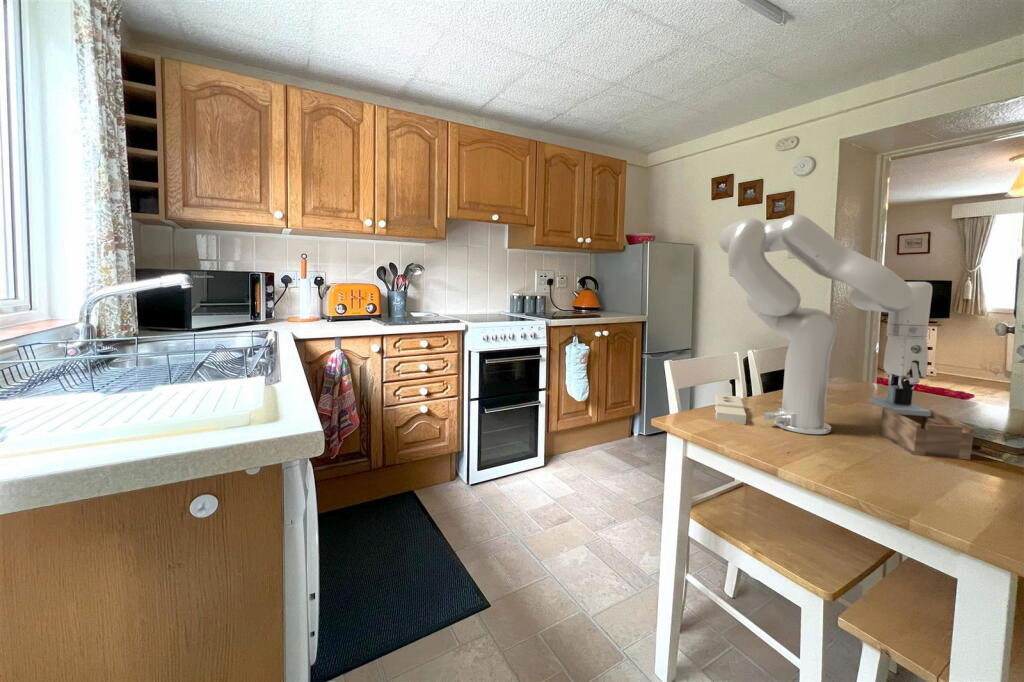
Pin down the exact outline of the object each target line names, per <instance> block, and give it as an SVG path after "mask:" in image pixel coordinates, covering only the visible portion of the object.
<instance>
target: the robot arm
mask: <svg viewBox="0 0 1024 682" xmlns="http://www.w3.org/2000/svg"><path fill="white" fill-rule="evenodd" d="M718 245H719V246H720V248H721V250H722V251H723V253H726V254H727V257H728V259H727V260H728V261H727V262H728V267H729V272H730V274H731V276H732V277H733V279H734V280H735V281H736V282H737V283H738V285H740V286H741V288H742V289H743V290H744V291H745V292H746V303H747V305H748V307H749V308H750V309H751V312H752V313H753V314H755V315H756V317H758V318H759V320H761V321H762V322H763V323H764V324H765V325H766V326H767V327H768V328H769V329H771V330H772V332H774V333H775V334H776V335H777V336H779V337H780V338H782V339H784V340H786V341H789V345H788V348H787V352H786V354H785V360H784V373H783V375H784V376H783V387H782V403H781V407H777V410H776V411H775V412H770V411H769V412H764V413H763V418H764V419H765V420H767V421H769V420H774V421H773V423H774V424H775V425H776V427H778V428H781V429H784V430H785V431H786V430H787V431H790V432H793V433H799V434H807V435H825V434H829V433H831V431H832V426H831V425H830V424H829V423H827V422H825V420H826V418H825V417H826V408H827V407H826V406H827V395H828V394H827V393H828V386H829V385H828V384H829V383H828V382H829V373H830V372H829V369H830V362H831V361H830V360H831V353H832V348H833V346H834V343H835V339H836V335H837V323H836V321H835V319H834V318H833V316H831V314H829V313H827V312H826V311H824V310H822V309H818V308H810V307H802V306H800V305H801V300H802V297H801V294H800V291H799V290H798V289H797V287H795V286H794V285H793V283H791V282H790V281H789V280H787V278H785V276H784V275H782V274H781V273H780V272H779V271H778V270H777V269H776V268H775V267H774V266H773V265H772V264H771V263H770V262H769V260H768V259H767V257H766V254H765V253H772V252H779V251H786V252H788V253H789V254H790V255H792V256H793V257H795V258H796V259H797V260H798V261H800V262H801V263H802V264H803V265H805V266H806V267H807V268H809V270H811V271H812V272H814V274H816V275H818V276H821V277H823V278H827V279H830V280H833V281H838V282H841V283H844V284H846V285H848V286H850V287H852V289H851V291H849V292H850V293H849V301H850V303H851V305H853V307H855V308H857V309H859V310H862V311H867V312H882V313H888V315H887V316H888V317H887V325H886V327H887V329H886V337H887V341H886V345H885V350H884V357H883V369H884V371H885V374H887V377H888V382H887V383H888V386H889V385H896V386H898V388H896V392H895V401H894V403H895V404H902V405H910V404H911V399H912V400H913V396H912V391H913V392H914V389H915V385H918V384H919V383H920V380H921V379H925V378H926V377H927V373H928V372H927V371H928V358H929V357H928V355H929V354H928V349H929V348H928V341H927V338H928V331H929V330H928V329H929V321H930V314H931V303H932V296H933V285H932V283H930V282H927V281H905V279H903V278H901V277H900V276H899V275H898V274H897V273H895V272H894V271H892V270H891V269H890V268H888V267H886V266H885V265H884V264H882V263H881V262H878V261H877V260H875V259H872V258H870V257H867V256H865V255H864V254H861V253H860V252H858V251H855V250H852V249H850V248H848V247H846V246H845V245H844V244H843V243H841V242H840V241H839V240H837V239H836V238H835V237H834V236H832V235H831V234H829V232H827V231H826V230H825V229H823V228H822V227H821V226H819V225H818V224H817V223H816V222H814V221H813V220H812V219H810V218H809V217H808V216H805V215H803V214H790V215H788V216H784V217H782V218H779V219H773V220H768V221H761V220H759V219H757V218H753V217H749V218H747V217H746V218H743V219H740V220H739V221H736V222H734V223H731V224H729V225H728V226H725V228H723V230H721V232H720V234H719V237H718Z"/></svg>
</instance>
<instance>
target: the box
mask: <svg viewBox="0 0 1024 682" xmlns="http://www.w3.org/2000/svg"><path fill="white" fill-rule="evenodd" d="M928 410H929V411H931V416H918V415H904V414H898V413H896V412H894V411H892V410H890V409H888V408H886V407H883V408H882V412H881V418H880V419H881V420H880V421H881V422H880V430H879V435H881V436H882V437H884V438H886V439H888V440H889V441H890V442H893V443H894V444H895V445H897V446H899V447H900V448H902V449H903V450H905V451H907V452H908V453H910V454H912V455H913V456H914V455H915V456H925V457H933V458H934V457H936V458H947V459H957V460H971V458H970V457H971V456H972V449H973V442H974V436H975V435H974V433H975V427H972V426H970V425H968V424H965V423H963V422H960V421H959V420H955V419H954V418H951V417H949V416H946V415H944V414H941V413H939V412H937V411H934V410H932V409H928ZM970 455H971V456H970Z"/></svg>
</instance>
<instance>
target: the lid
mask: <svg viewBox="0 0 1024 682" xmlns="http://www.w3.org/2000/svg"><path fill="white" fill-rule="evenodd" d="M896 388H898V386H896V385H889V384H888V389H887V397H877V396H871V397H870V399H869V401H870V402H871V403H872V404H874V405H876V406H878V407H880V408H882V409H883V407H886V408H888V409H890V410H892V411H894V412H896V413H898V414H904V415H918V416H931V411H929V410H930V409H927V408H924V407H922V406H920V405H918V404H915V403H913V398H912V399H911V404H910V405H902V404H895V403H894V401H895V392H896ZM913 395H914V390H913V391H912V397H914V396H913Z"/></svg>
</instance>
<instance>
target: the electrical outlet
mask: <svg viewBox="0 0 1024 682" xmlns="http://www.w3.org/2000/svg"><path fill="white" fill-rule="evenodd" d="M715 405H716V406H715ZM714 409H715V410H716V413H715V420H716V419H717V420H722V421H729V422H735V423H740V424H746V423H747V413H746V410H745V405H744V402H743V400H742V397H741V396H737V395H736V396H735V395H725V394H715V397H714ZM715 410H714V411H715Z"/></svg>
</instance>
